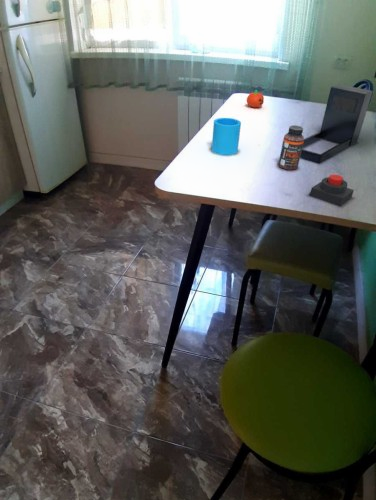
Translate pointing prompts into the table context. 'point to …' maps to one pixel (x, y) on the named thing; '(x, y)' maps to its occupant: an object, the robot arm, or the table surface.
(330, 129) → the dark l-shaped stand
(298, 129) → the supplement bottle
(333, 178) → the button
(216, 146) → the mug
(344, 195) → the control block
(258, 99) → the pumpkin
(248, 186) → the table surface
